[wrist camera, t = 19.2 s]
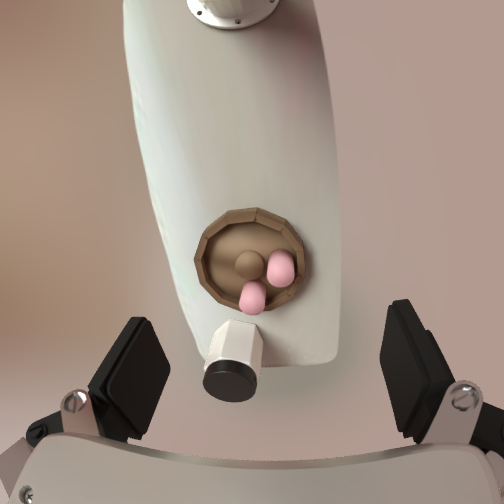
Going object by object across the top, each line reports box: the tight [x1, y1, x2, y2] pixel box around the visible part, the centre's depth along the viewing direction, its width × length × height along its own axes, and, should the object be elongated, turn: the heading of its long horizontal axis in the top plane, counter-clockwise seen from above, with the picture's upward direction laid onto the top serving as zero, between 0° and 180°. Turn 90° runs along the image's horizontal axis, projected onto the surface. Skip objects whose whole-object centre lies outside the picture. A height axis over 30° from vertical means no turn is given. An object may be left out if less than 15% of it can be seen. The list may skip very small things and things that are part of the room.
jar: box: [203, 319, 263, 402], centre depth 45 cm, size 9×8×12 cm
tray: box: [194, 207, 305, 312], centre depth 42 cm, size 16×16×3 cm
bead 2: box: [267, 249, 294, 287], centre depth 40 cm, size 4×4×4 cm
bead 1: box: [239, 278, 266, 315], centre depth 42 cm, size 4×4×4 cm
